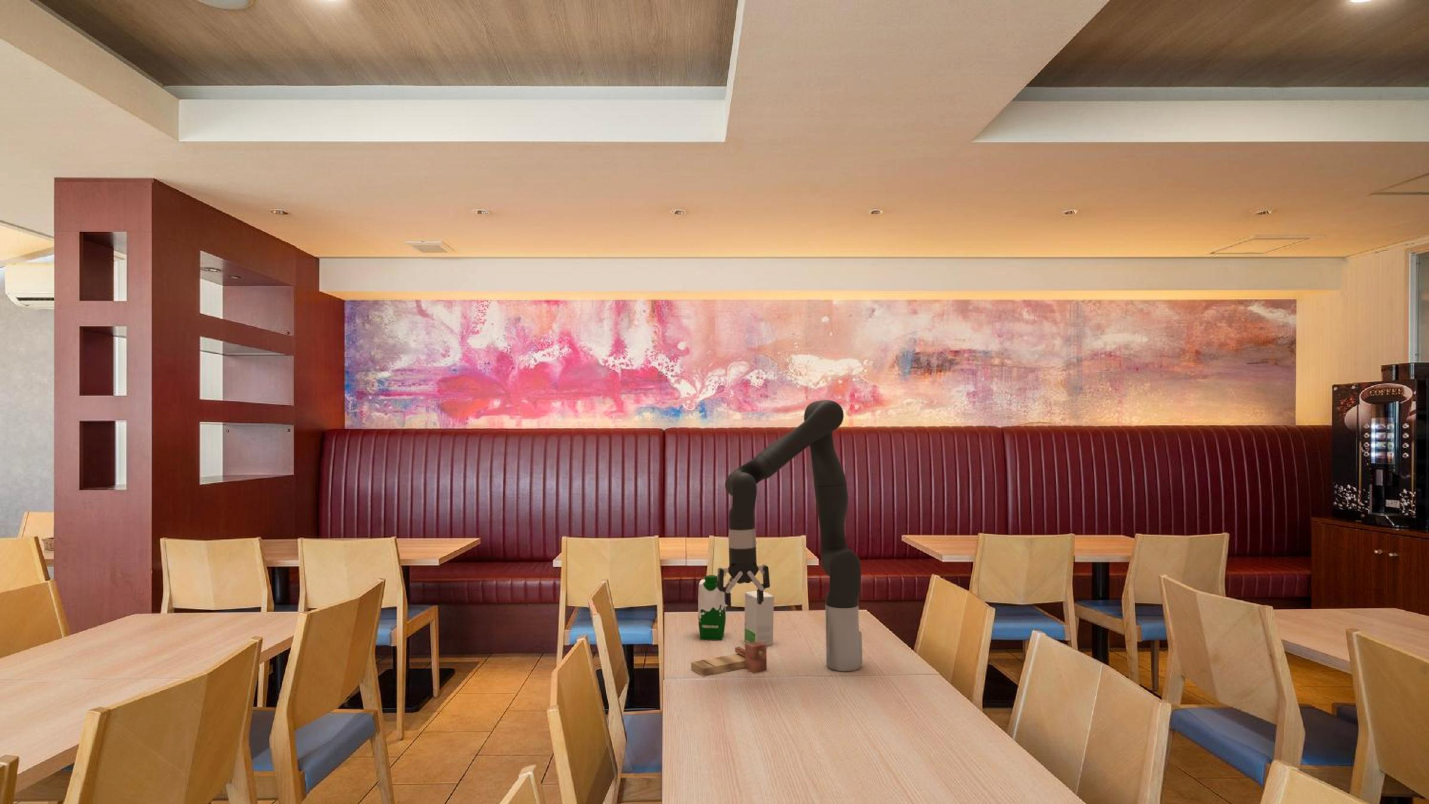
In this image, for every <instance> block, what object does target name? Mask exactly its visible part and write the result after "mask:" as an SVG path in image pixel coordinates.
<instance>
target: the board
mask: <svg viewBox="0 0 1429 804" xmlns="http://www.w3.org/2000/svg"><path fill="white" fill-rule="evenodd" d="M742 669H745V657H744V656H742V655H740V654H738V653H734V654H732V653H731V654H728V655H722V656H717V657H712V658H711V657H710V658H707V659H700V660H696V661H694V660H693V661H691V662H690V670H692V672H696V673H697V674H699V675H700V676H702V677H706V676H711V675H716V674H722V673H726V672H733V671H736V670H737V671H738V670H742Z"/></svg>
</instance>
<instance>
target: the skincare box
mask: <svg viewBox="0 0 1429 804" xmlns="http://www.w3.org/2000/svg"><path fill="white" fill-rule="evenodd" d="M763 595H764V596H763V597H764V601H763V602H762V604H761V605H759V604H758V603H757V590H753V591H745V592H744V625H743V626H744V629H743V630H744V631H743V633H744V637H743V640H744V642H745V643H751V642H756V641H759V642H762V643H764V644H766V647H769V646H770V647H771V646H773V645H774V614H775V612H774V611H775V610H774V606H775V596H774V595H772V594H770V593H769V592H767V591H765V590H764V591H763Z"/></svg>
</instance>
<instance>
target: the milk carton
mask: <svg viewBox="0 0 1429 804" xmlns="http://www.w3.org/2000/svg"><path fill="white" fill-rule="evenodd" d="M717 577H718V575H716V574H715V575H714V574H713V575H712V574H708V575H705V576H704V578H703V579H701V580H699V583H698V587H697V588H698V590H697V591H698V593H697V601H698V602H697V603H698V605H697V606H698V607H697V608H698V609H697V610H698V613H697V614H698V616H697V617H698V618H697V619H698V622H697V623H698V629H699V631H698V632H699V638H700V639H699V640H700V641H722V640H723V639H724V635H725V630H726V629H725V627H726V622H727V621H726V617H727V615H726V614H727V613H726V611H727V610H726V608H727V605H726V604H725V598H724V592H722V591H719V590H718V589H717ZM725 586H726V584H725V583H724V585H723V587H725Z"/></svg>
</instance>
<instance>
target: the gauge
mask: <svg viewBox="0 0 1429 804" xmlns="http://www.w3.org/2000/svg"><path fill="white" fill-rule="evenodd" d="M734 652H735V654H740V655H742V656H744V657H745V668H744V669H745V670H747V671H749V672H751V673H758V672H759V673H760V672H763V671H768V668H767V667H768V666H767V665H768V664H767V662H768V659H767V658H768V655H767V646H766V644H764V643H762V642H759V641H756V642H751V643H747V642H745V644H744V648H743V647H741V646H735V647H734Z"/></svg>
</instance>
